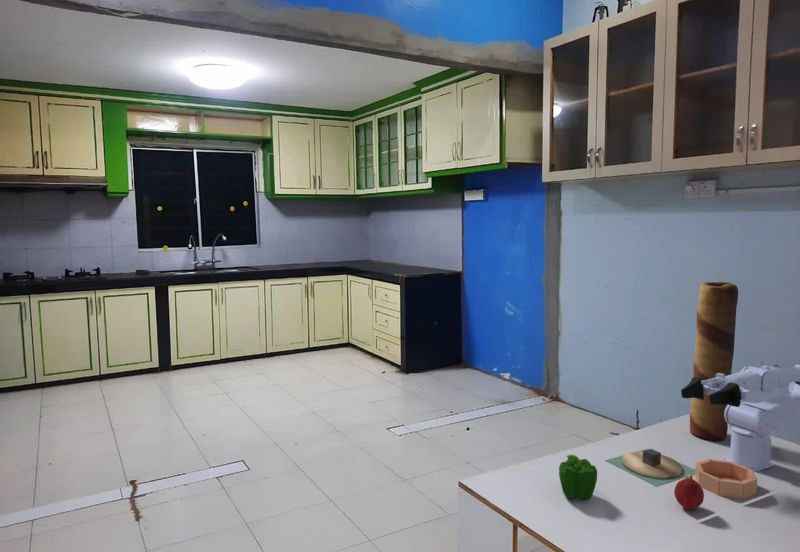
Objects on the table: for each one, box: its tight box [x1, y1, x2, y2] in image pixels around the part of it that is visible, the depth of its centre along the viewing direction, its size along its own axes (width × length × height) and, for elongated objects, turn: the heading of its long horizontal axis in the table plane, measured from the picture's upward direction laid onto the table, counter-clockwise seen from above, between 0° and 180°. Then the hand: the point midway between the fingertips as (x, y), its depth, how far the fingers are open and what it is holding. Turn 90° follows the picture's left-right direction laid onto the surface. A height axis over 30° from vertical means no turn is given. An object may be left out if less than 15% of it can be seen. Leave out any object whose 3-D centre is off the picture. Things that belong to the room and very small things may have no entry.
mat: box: [604, 448, 695, 488], centre depth 145 cm, size 16×16×1 cm
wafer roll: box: [689, 281, 739, 441], centre depth 163 cm, size 10×11×45 cm
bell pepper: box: [558, 454, 598, 502], centre depth 130 cm, size 8×8×10 cm
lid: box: [622, 448, 682, 479], centre depth 144 cm, size 14×14×4 cm
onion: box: [673, 474, 705, 511], centre depth 124 cm, size 6×6×8 cm
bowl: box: [694, 458, 758, 499], centre depth 134 cm, size 12×12×4 cm
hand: (696, 396), depth 135 cm, fingers open, 7 cm apart
